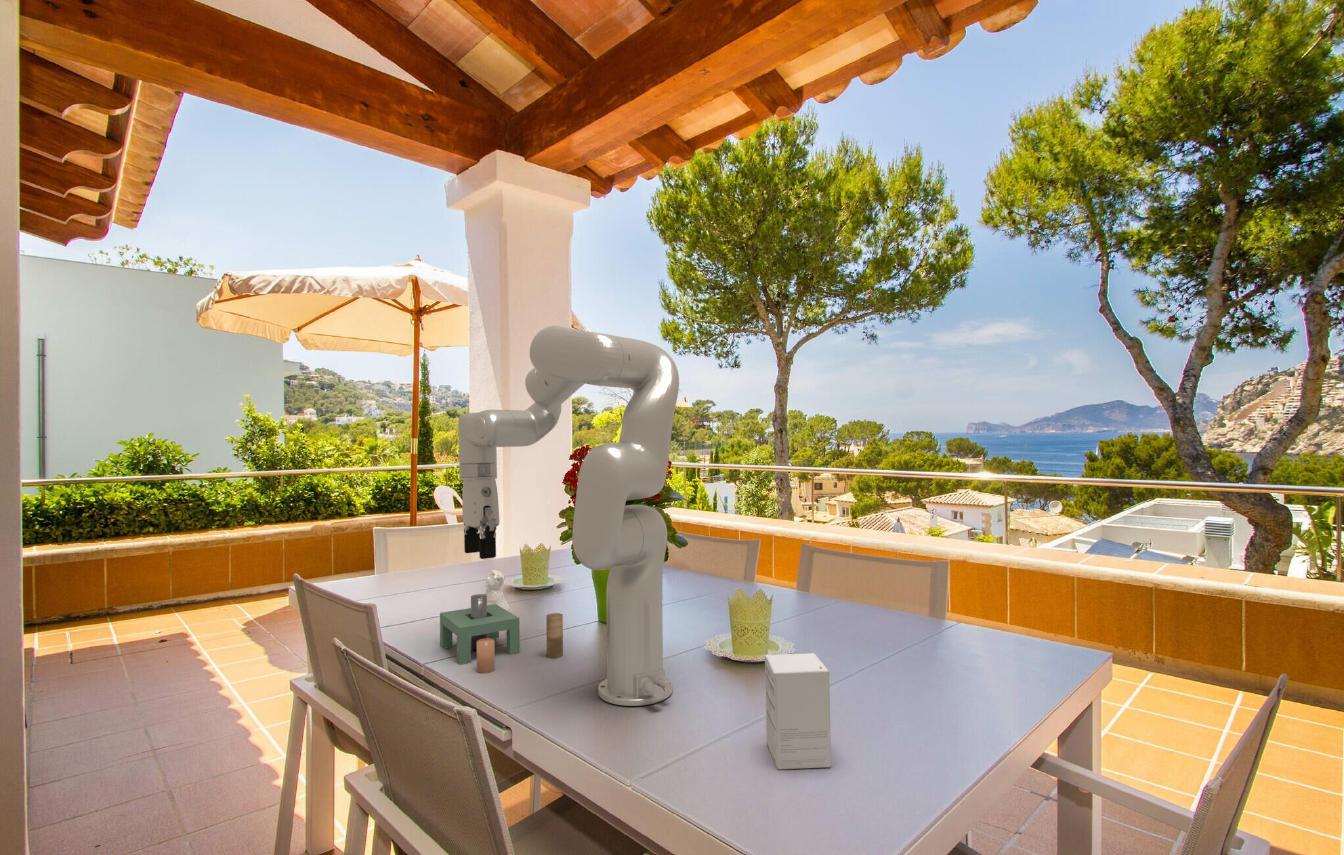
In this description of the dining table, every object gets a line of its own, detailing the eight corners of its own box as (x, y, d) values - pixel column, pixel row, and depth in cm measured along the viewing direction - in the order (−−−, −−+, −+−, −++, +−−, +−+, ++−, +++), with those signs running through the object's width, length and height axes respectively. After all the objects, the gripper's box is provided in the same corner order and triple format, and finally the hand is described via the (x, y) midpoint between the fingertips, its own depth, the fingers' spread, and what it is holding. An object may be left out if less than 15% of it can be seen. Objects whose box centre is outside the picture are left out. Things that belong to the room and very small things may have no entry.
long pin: (489, 649, 135) (489, 596, 135) (473, 652, 133) (473, 598, 133) (484, 645, 137) (483, 593, 138) (469, 648, 136) (468, 595, 136)
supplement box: (817, 742, 92) (816, 651, 92) (832, 768, 85) (830, 670, 85) (765, 744, 92) (763, 653, 92) (775, 770, 84) (773, 671, 85)
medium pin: (565, 656, 130) (565, 615, 131) (550, 659, 129) (550, 618, 129) (558, 651, 133) (558, 612, 133) (544, 654, 131) (543, 614, 131)
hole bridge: (519, 652, 133) (519, 617, 133) (460, 664, 126) (459, 627, 126) (495, 636, 144) (495, 604, 145) (440, 646, 138) (439, 612, 138)
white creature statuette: (470, 617, 160) (469, 568, 161) (505, 612, 164) (505, 564, 165) (477, 626, 152) (477, 574, 152) (514, 621, 156) (514, 571, 156)
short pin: (497, 670, 122) (496, 641, 123) (480, 674, 121) (479, 644, 121) (491, 666, 125) (491, 637, 125) (474, 669, 123) (474, 640, 123)
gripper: (510, 472, 131) (512, 558, 130) (482, 471, 145) (484, 548, 145) (473, 473, 127) (475, 562, 126) (448, 472, 141) (449, 552, 140)
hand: (479, 555), depth 135 cm, fingers open, 9 cm apart
